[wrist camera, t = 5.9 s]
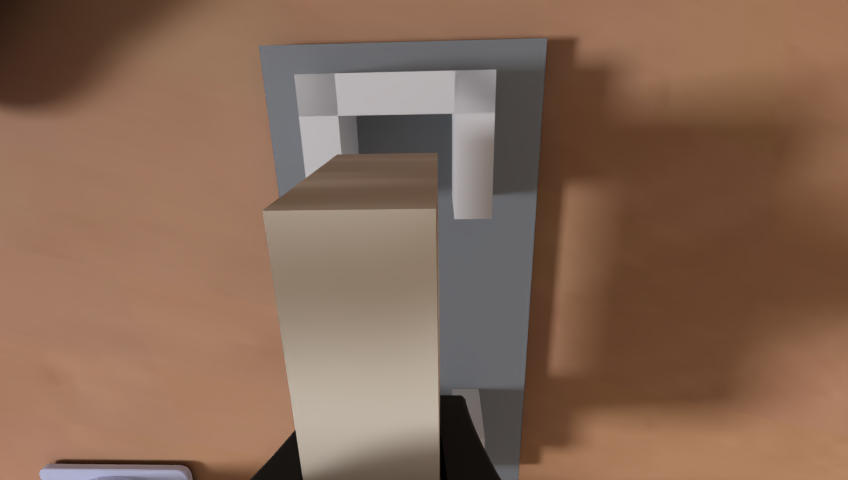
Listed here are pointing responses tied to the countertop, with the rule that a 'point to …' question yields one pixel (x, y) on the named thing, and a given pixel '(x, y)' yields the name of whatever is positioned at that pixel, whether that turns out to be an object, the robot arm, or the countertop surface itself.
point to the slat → (361, 315)
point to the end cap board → (439, 185)
